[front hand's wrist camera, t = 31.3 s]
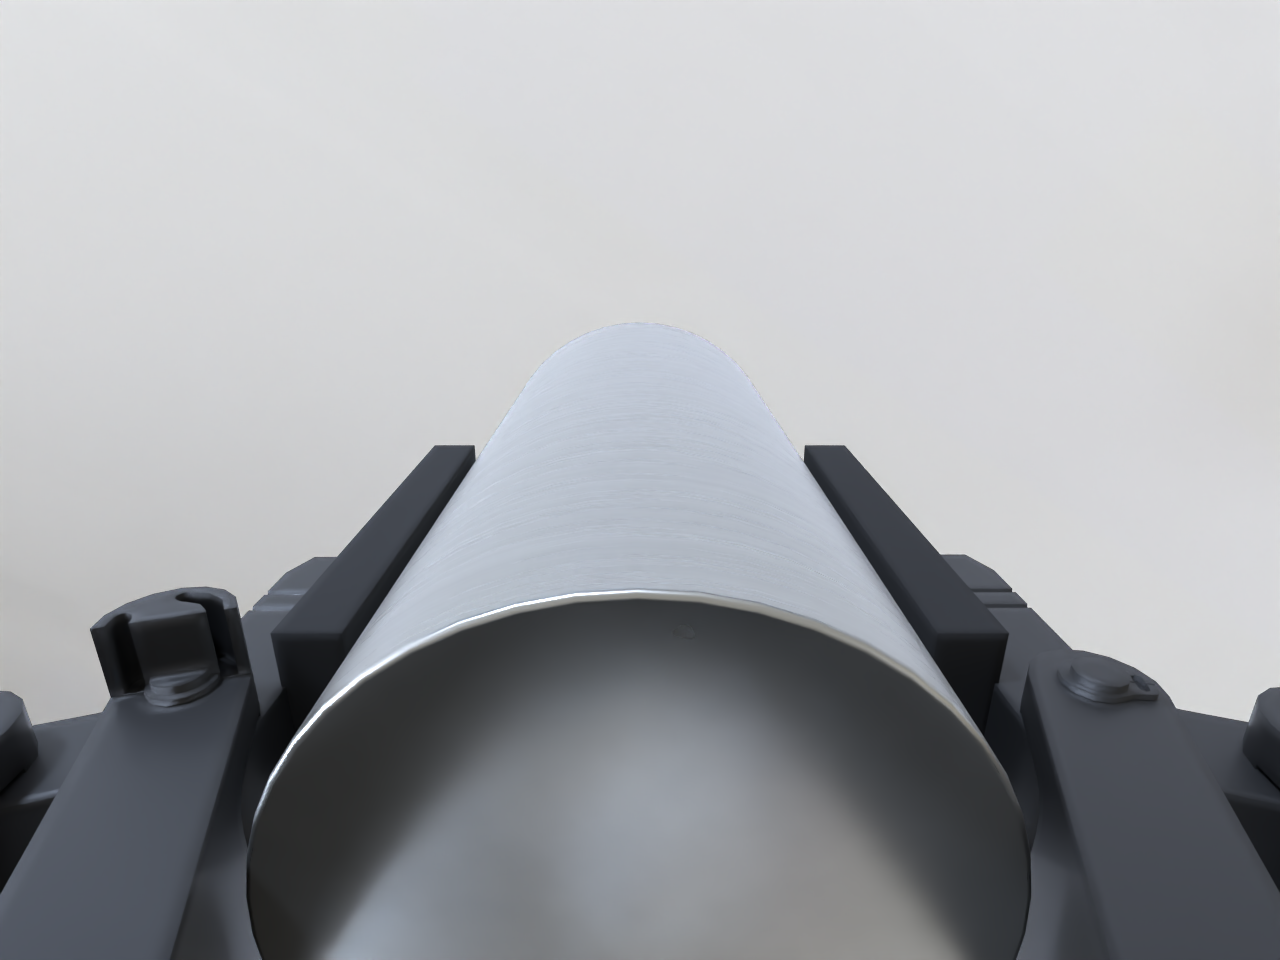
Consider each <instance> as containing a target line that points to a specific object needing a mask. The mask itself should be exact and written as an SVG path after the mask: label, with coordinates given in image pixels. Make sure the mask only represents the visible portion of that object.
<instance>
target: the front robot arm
mask: <svg viewBox="0 0 1280 960" xmlns="http://www.w3.org/2000/svg"><path fill="white" fill-rule="evenodd" d="M475 461H476V458H475V446H474V445H435V446H434V447H433V448H432V449H431V451H430V452H429V453H428V454H427V455H426V456H425V457H424V459H423V460H422V461H421V462H420V463H419V464H418V465H417V466H416V468H415V469H414V470H413V471H412V472H411V473H410V474H409V476H408V477H407V478H406V479H405V480H404V481H403V482H402V484H401V485H400V486H399V487H398V488H397V489H396V490H395V492H394V493H393V494H392V495H391V496H390V497H389V498H388V500H387V501H386V502H385V503H384V504H383V505H382V506H381V508H380V509H379V510H378V511H377V512H376V513H375V514H374V516H373V517H372V518H371V519H370V520H369V521H368V522H367V524H366V525H365V526H364V527H363V528H362V529H361V530H360V532H359V533H358V534H357V535H356V536H355V537H354V538H353V539H352V541H351V542H350V543H349V544H348V545H347V546H346V547H345V549H344V550H343V551H342V552H341V553H340V554H339V555H338V557H314V558H312V559H311V560H309V561H307V562H305V563H303V564H301V565H300V566H298V567H296V568H294V569H292V570H290V571H289V572H287V573H285V574H284V575H283V577H282V578H281V579H280V580H279V581H278V582H277V583H276V584H275V585H274V586H273V587H272V588H271V589H270V590H269V591H268V595H264V596H263V597H262V598H261V599H260V600H259V601H258V602H257V603H256V604H255V605H254V606H253V611H248V612H247V613H246V614H245V615H244V616H243V617H242V618H240V613H239V609H238V604H237V600H236V597H235V596H234V595H232V594H231V593H229V592H228V591H226V590H224V589H217V588H211V587H192V588H179V589H175V590H170V591H165V592H160V593H155V594H152V595H149V596H146V597H143V598H141V599H138V600H135V601H132V602H129V603H127V604H125V605H123V606H121V607H119V608H117V609H115V610H114V611H112V612H110V613H108V614H106V615H104V616H103V617H102V618H101V619H100V620H99V621H98V622H97V623H96V624H95V625H94V626H92V627H91V628H90V631H91V634H92V638H93V641H94V644H95V647H96V651H97V654H98V657H99V660H100V664H101V667H102V670H103V673H104V677H105V680H106V683H107V686H108V690H109V693H110V696H111V698H110V700H109V702H108V704H107V705H106V707H105V709H104V711H103V712H101V713H97V714H92V715H86V716H81V717H76V718H71V719H65V720H60V721H55V722H50V723H44V724H39V725H34V726H32V724H31V722H30V719H29V716H28V713H27V711H26V708H25V705H24V702H23V699H21V698H20V697H18V696H17V695H15V694H14V693H12V692H9V691H0V960H262V959H261V957H260V954H259V951H258V948H257V945H256V943H255V940H254V937H253V934H252V928H251V922H250V917H249V911H248V905H247V899H246V859H247V851H248V846H249V840H250V835H251V830H252V825H253V820H254V815H255V812H256V809H257V807H258V804H259V802H260V799H261V797H262V794H263V791H264V789H265V786H266V784H267V781H268V779H269V776H270V774H271V773H272V771H273V769H274V768H275V766H276V764H277V763H278V761H279V760H280V758H281V756H282V755H283V753H284V751H285V750H286V748H287V746H288V745H289V743H290V742H291V740H292V738H293V737H294V735H295V734H296V732H297V731H298V729H299V728H300V726H301V725H302V723H303V722H304V720H305V719H306V717H307V716H308V714H309V713H310V711H311V709H312V708H313V706H314V705H315V703H316V702H317V700H318V699H319V697H320V696H321V694H322V693H323V691H324V690H325V688H326V687H327V685H328V684H329V682H330V681H331V679H332V678H333V676H334V675H335V673H336V672H337V670H338V669H339V667H340V666H341V664H342V663H343V661H344V660H345V658H346V657H347V655H348V653H349V652H350V650H351V649H352V647H353V646H354V644H355V643H356V641H357V640H358V638H359V637H360V635H361V634H362V632H363V631H364V629H365V628H366V626H367V625H368V623H369V622H370V620H371V619H372V617H373V616H374V614H375V613H376V611H377V610H378V608H379V607H380V605H381V604H382V602H383V600H384V599H385V597H386V596H387V594H388V593H389V591H390V590H391V588H392V587H393V585H394V584H395V582H396V581H397V579H398V578H399V576H400V575H401V573H402V572H403V570H404V569H405V567H406V566H407V564H408V563H409V561H410V560H411V558H412V557H413V555H414V554H415V552H416V551H417V549H418V548H419V546H420V544H421V543H422V541H423V540H424V538H425V537H426V535H427V534H428V532H429V531H430V529H431V528H432V526H433V525H434V523H435V522H436V520H437V519H438V517H439V516H440V514H441V513H442V511H443V510H444V508H445V507H446V505H447V504H448V502H449V501H450V499H451V498H452V496H453V495H454V493H455V492H456V490H457V489H458V487H459V485H460V484H461V482H462V481H463V479H464V478H465V476H466V475H467V473H468V472H469V470H470V469H471V467H472V466H473V464H474V463H475ZM804 463H805V465H806V466H807V468H808V469H809V471H810V472H811V474H812V475H813V477H814V478H815V480H816V482H817V483H818V485H819V486H820V488H821V489H822V491H823V492H824V494H825V495H826V497H827V498H828V500H829V501H830V503H831V504H832V506H833V507H834V509H835V510H836V512H837V514H838V515H839V517H840V518H841V520H842V521H843V523H844V524H845V526H846V527H847V529H848V530H849V532H850V533H851V535H852V536H853V538H854V539H855V541H856V543H857V544H858V546H859V547H860V549H861V550H862V552H863V553H864V555H865V556H866V558H867V559H868V561H869V562H870V564H871V565H872V567H873V568H874V570H875V572H876V573H877V575H878V576H879V578H880V579H881V581H882V582H883V584H884V585H885V587H886V588H887V590H888V591H889V593H890V594H891V596H892V597H893V599H894V601H895V602H896V604H897V605H898V607H899V608H900V610H901V611H902V613H903V614H904V616H905V617H906V619H907V620H908V622H909V623H910V625H911V626H912V628H913V630H914V631H915V633H916V634H917V636H918V637H919V639H920V640H921V642H922V643H923V645H924V646H925V648H926V649H927V651H928V652H929V654H930V655H931V657H932V659H933V660H934V662H935V663H936V665H937V666H938V668H939V669H940V671H941V672H942V674H943V675H944V677H945V678H946V680H947V681H948V683H949V684H950V686H951V688H952V689H953V691H954V692H955V694H956V695H957V697H958V698H959V700H960V701H961V703H962V704H963V706H964V707H965V709H966V710H967V712H968V713H969V715H970V717H971V718H972V720H973V721H974V723H975V724H976V726H977V727H978V729H979V730H980V732H981V733H982V735H983V736H984V738H985V740H986V741H987V743H988V744H989V746H990V748H991V749H992V751H993V752H994V754H995V756H996V757H997V759H998V761H999V762H1000V764H1001V765H1002V767H1003V769H1004V770H1005V772H1006V773H1007V775H1008V778H1009V780H1010V783H1011V785H1012V788H1013V790H1014V793H1015V795H1016V798H1017V800H1018V803H1019V805H1020V808H1021V810H1022V813H1023V818H1024V823H1025V828H1026V833H1027V838H1028V843H1029V848H1030V853H1031V902H1030V908H1029V914H1028V920H1027V926H1026V932H1025V936H1024V939H1023V941H1022V944H1021V947H1020V950H1019V953H1018V956H1017V959H1016V960H1280V687H1277V688H1269V689H1268V690H1266V691H1265V692H1263V693H1261V694H1260V695H1258V697H1257V700H1256V703H1255V706H1254V709H1253V711H1252V714H1251V717H1250V720H1249V722H1244V721H1238V720H1233V719H1228V718H1222V717H1217V716H1212V715H1206V714H1201V713H1196V712H1190V711H1185V710H1181V709H1176V708H1175V706H1174V704H1173V702H1172V700H1171V699H1170V697H1169V696H1168V695H1167V693H1166V692H1165V691H1164V690H1163V689H1162V688H1161V687H1160V686H1159V684H1158V683H1157V682H1156V681H1154V680H1153V679H1151V678H1150V677H1148V676H1147V675H1145V674H1143V673H1142V672H1140V671H1139V670H1137V669H1136V668H1134V667H1131V666H1129V665H1127V664H1124V663H1122V662H1120V661H1117V660H1115V659H1112V658H1110V657H1106V656H1102V655H1098V654H1094V653H1090V652H1086V651H1079V650H1072V649H1071V648H1070V647H1069V646H1068V645H1067V644H1066V643H1065V642H1064V641H1063V640H1062V639H1061V638H1060V637H1059V636H1058V635H1057V634H1056V633H1055V632H1054V631H1053V630H1052V629H1051V628H1050V627H1049V626H1048V625H1047V624H1046V623H1045V622H1044V621H1043V620H1042V619H1041V618H1040V617H1039V615H1038V614H1037V613H1036V612H1035V611H1034V610H1033V609H1032V608H1027V603H1026V602H1025V601H1024V600H1023V599H1022V598H1021V597H1020V596H1019V595H1018V594H1017V593H1016V592H1012V588H1011V587H1010V586H1009V585H1008V584H1007V583H1006V582H1005V581H1004V580H1003V579H1002V578H1001V577H1000V576H999V575H998V574H997V573H996V572H995V571H994V570H992V569H991V568H989V567H987V566H985V565H983V564H981V563H979V562H978V561H976V560H974V559H972V558H970V557H968V556H967V555H940V554H939V553H938V551H937V550H936V549H935V548H934V547H933V546H932V545H931V543H930V542H929V541H928V540H927V539H926V538H925V537H924V536H923V534H922V533H921V532H920V531H919V530H918V529H917V528H916V526H915V525H914V524H913V523H912V522H911V521H910V520H909V518H908V517H907V516H906V515H905V514H904V513H903V512H902V510H901V509H900V508H899V507H898V506H897V505H896V504H895V502H894V501H893V500H892V499H891V498H890V497H889V496H888V494H887V493H886V492H885V491H884V490H883V489H882V488H881V486H880V485H879V484H878V483H877V482H876V481H875V480H874V478H873V477H872V476H871V475H870V474H869V473H868V472H867V470H866V469H865V468H864V467H863V466H862V465H861V464H860V462H859V461H858V460H857V459H856V458H855V457H854V456H853V454H852V453H851V452H850V451H849V450H848V449H847V448H846V447H845V445H805V452H804Z"/></svg>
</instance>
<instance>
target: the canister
mask: <svg viewBox="0 0 1280 960" xmlns="http://www.w3.org/2000/svg"><path fill="white" fill-rule="evenodd" d="M246 899H247V905H248V911H249V917H250V922H251V928H252V934H253V937H254V940H255V943H256V945H257V948H258V951H259V954H260V957H261V959H262V960H1016V959H1017V956H1018V953H1019V950H1020V947H1021V944H1022V941H1023V939H1024V936H1025V932H1026V926H1027V920H1028V914H1029V908H1030V902H1031V853H1030V848H1029V843H1028V838H1027V833H1026V828H1025V823H1024V818H1023V813H1022V810H1021V808H1020V805H1019V803H1018V800H1017V798H1016V795H1015V793H1014V790H1013V788H1012V785H1011V783H1010V780H1009V778H1008V775H1007V773H1006V772H1005V770H1004V769H1003V767H1002V765H1001V764H1000V762H999V761H998V759H997V757H996V756H995V754H994V752H993V751H992V749H991V748H990V746H989V744H988V743H987V741H986V740H985V738H984V736H983V735H982V733H981V732H980V730H979V729H978V727H977V726H976V724H975V723H974V721H973V720H972V718H971V717H970V715H969V713H968V712H967V710H966V709H965V707H964V706H963V704H962V703H961V701H960V700H959V698H958V697H957V695H956V694H955V692H954V691H953V689H952V688H951V686H950V684H949V683H948V681H947V680H946V678H945V677H944V675H943V674H942V672H941V671H940V669H939V668H938V666H937V665H936V663H935V662H934V660H933V659H932V657H931V655H930V654H929V652H928V651H927V649H926V648H925V646H924V645H923V643H922V642H921V640H920V639H919V637H918V636H917V634H916V633H915V631H914V630H913V628H912V626H911V625H910V623H909V622H908V620H907V619H906V617H905V616H904V614H903V613H902V611H901V610H900V608H899V607H898V605H897V604H896V602H895V601H894V599H893V597H892V596H891V594H890V593H889V591H888V590H887V588H886V587H885V585H884V584H883V582H882V581H881V579H880V578H879V576H878V575H877V573H876V572H875V570H874V568H873V567H872V565H871V564H870V562H869V561H868V559H867V558H866V556H865V555H864V553H863V552H862V550H861V549H860V547H859V546H858V544H857V543H856V541H855V539H854V538H853V536H852V535H851V533H850V532H849V530H848V529H847V527H846V526H845V524H844V523H843V521H842V520H841V518H840V517H839V515H838V514H837V512H836V510H835V509H834V507H833V506H832V504H831V503H830V501H829V500H828V498H827V497H826V495H825V494H824V492H823V491H822V489H821V488H820V486H819V485H818V483H817V482H816V480H815V478H814V477H813V475H812V474H811V472H810V471H809V469H808V468H807V466H806V465H805V463H804V462H803V460H802V459H801V457H800V456H799V454H798V453H797V451H796V449H795V448H794V446H793V445H792V443H791V442H790V440H789V439H788V437H787V436H786V434H785V433H784V431H783V430H782V428H781V427H780V425H779V424H778V422H777V420H776V419H775V417H774V416H773V414H772V413H771V411H770V410H769V408H768V407H767V405H766V404H765V402H764V401H763V399H762V398H761V396H760V395H759V393H758V391H757V390H756V388H755V387H754V385H753V384H752V382H751V381H750V379H749V378H748V376H747V375H746V374H745V373H744V371H743V370H742V369H741V368H740V367H739V365H738V364H737V363H736V362H735V361H734V360H733V359H731V358H730V357H729V356H728V355H727V354H726V353H725V352H724V351H722V350H721V349H719V348H718V347H717V346H715V345H714V344H712V343H711V342H709V341H707V340H705V339H703V338H701V337H699V336H697V335H695V334H693V333H691V332H688V331H685V330H682V329H679V328H676V327H672V326H667V325H662V324H655V323H640V322H639V323H624V324H617V325H612V326H607V327H603V328H600V329H597V330H594V331H591V332H588V333H586V334H584V335H582V336H580V337H578V338H576V339H574V340H572V341H570V342H569V343H567V344H566V345H564V346H563V347H561V348H560V349H558V350H557V351H555V352H554V353H553V354H552V355H551V356H550V357H549V358H548V359H547V360H546V361H544V362H543V363H542V365H541V366H540V367H539V368H538V369H537V371H536V372H535V373H534V374H533V375H532V377H531V378H530V380H529V381H528V383H527V384H526V386H525V387H524V389H523V390H522V392H521V393H520V395H519V396H518V398H517V399H516V401H515V402H514V404H513V405H512V407H511V408H510V410H509V411H508V413H507V414H506V416H505V417H504V419H503V420H502V422H501V423H500V425H499V426H498V428H497V429H496V431H495V433H494V434H493V436H492V437H491V439H490V440H489V442H488V443H487V445H486V446H485V448H484V449H483V451H482V452H481V454H480V455H479V457H478V458H477V460H476V461H475V463H474V464H473V466H472V467H471V469H470V470H469V472H468V473H467V475H466V476H465V478H464V479H463V481H462V482H461V484H460V485H459V487H458V489H457V490H456V492H455V493H454V495H453V496H452V498H451V499H450V501H449V502H448V504H447V505H446V507H445V508H444V510H443V511H442V513H441V514H440V516H439V517H438V519H437V520H436V522H435V523H434V525H433V526H432V528H431V529H430V531H429V532H428V534H427V535H426V537H425V538H424V540H423V541H422V543H421V544H420V546H419V548H418V549H417V551H416V552H415V554H414V555H413V557H412V558H411V560H410V561H409V563H408V564H407V566H406V567H405V569H404V570H403V572H402V573H401V575H400V576H399V578H398V579H397V581H396V582H395V584H394V585H393V587H392V588H391V590H390V591H389V593H388V594H387V596H386V597H385V599H384V600H383V602H382V604H381V605H380V607H379V608H378V610H377V611H376V613H375V614H374V616H373V617H372V619H371V620H370V622H369V623H368V625H367V626H366V628H365V629H364V631H363V632H362V634H361V635H360V637H359V638H358V640H357V641H356V643H355V644H354V646H353V647H352V649H351V650H350V652H349V653H348V655H347V657H346V658H345V660H344V661H343V663H342V664H341V666H340V667H339V669H338V670H337V672H336V673H335V675H334V676H333V678H332V679H331V681H330V682H329V684H328V685H327V687H326V688H325V690H324V691H323V693H322V694H321V696H320V697H319V699H318V700H317V702H316V703H315V705H314V706H313V708H312V709H311V711H310V713H309V714H308V716H307V717H306V719H305V720H304V722H303V723H302V725H301V726H300V728H299V729H298V731H297V732H296V734H295V735H294V737H293V738H292V740H291V742H290V743H289V745H288V746H287V748H286V750H285V751H284V753H283V755H282V756H281V758H280V760H279V761H278V763H277V764H276V766H275V768H274V769H273V771H272V773H271V774H270V776H269V779H268V781H267V784H266V786H265V789H264V791H263V794H262V797H261V799H260V802H259V804H258V807H257V809H256V812H255V815H254V820H253V825H252V830H251V835H250V840H249V846H248V851H247V859H246Z"/></svg>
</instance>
